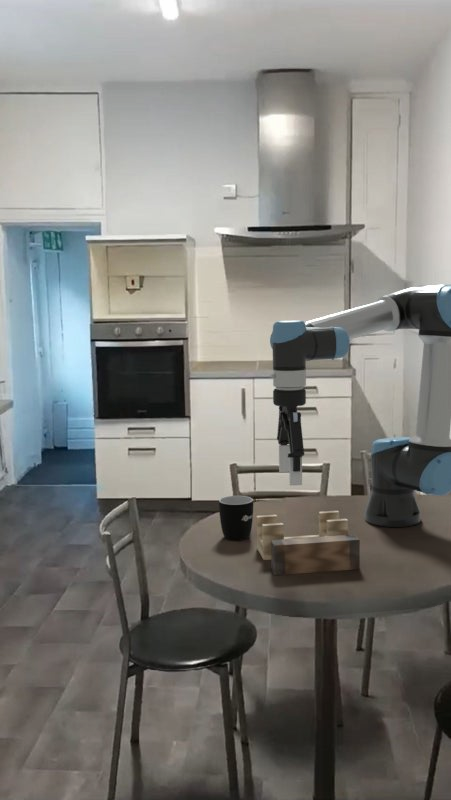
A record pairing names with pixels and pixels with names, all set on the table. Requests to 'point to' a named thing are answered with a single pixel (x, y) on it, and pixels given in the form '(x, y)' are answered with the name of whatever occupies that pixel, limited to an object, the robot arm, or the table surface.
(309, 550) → the brown rectangular block
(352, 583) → the table surface
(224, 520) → the mug
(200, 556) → the table surface
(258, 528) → the posts
